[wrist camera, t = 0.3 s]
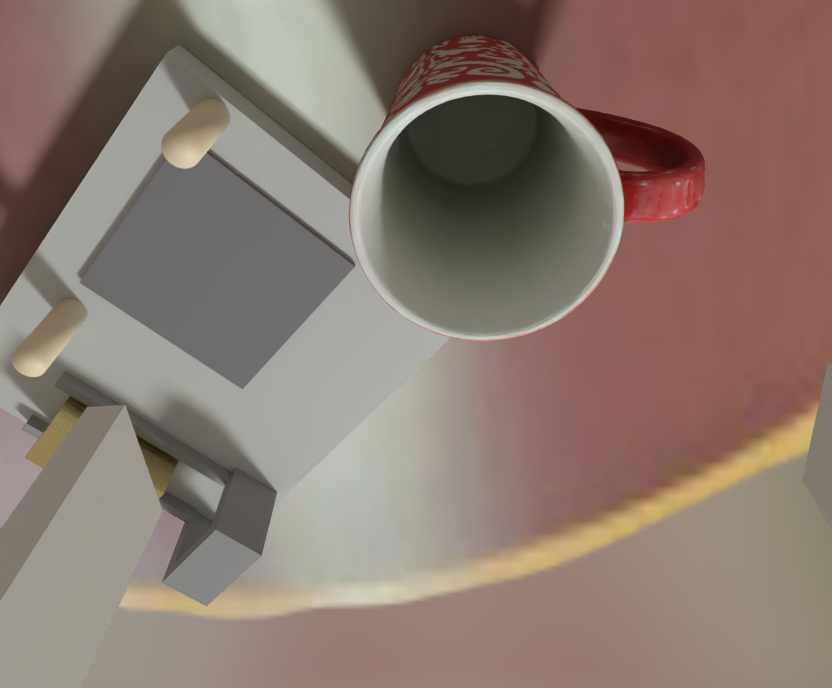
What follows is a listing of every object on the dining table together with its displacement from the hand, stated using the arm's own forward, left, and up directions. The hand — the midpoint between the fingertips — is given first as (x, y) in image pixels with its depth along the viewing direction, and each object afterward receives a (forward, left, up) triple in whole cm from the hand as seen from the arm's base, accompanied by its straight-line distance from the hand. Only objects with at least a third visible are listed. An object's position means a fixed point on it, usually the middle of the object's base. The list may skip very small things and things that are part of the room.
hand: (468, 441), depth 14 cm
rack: (-2, -17, -25) cm, 30 cm away
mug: (+2, +2, -25) cm, 25 cm away
